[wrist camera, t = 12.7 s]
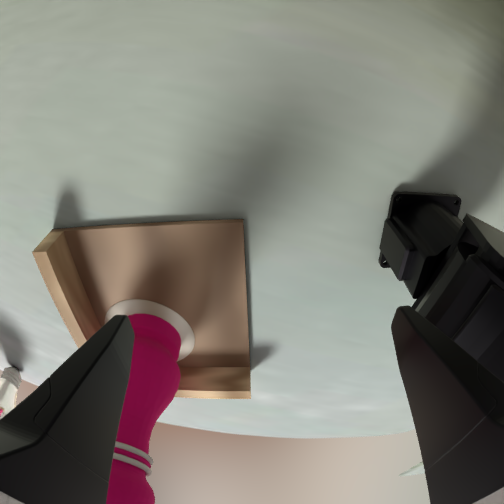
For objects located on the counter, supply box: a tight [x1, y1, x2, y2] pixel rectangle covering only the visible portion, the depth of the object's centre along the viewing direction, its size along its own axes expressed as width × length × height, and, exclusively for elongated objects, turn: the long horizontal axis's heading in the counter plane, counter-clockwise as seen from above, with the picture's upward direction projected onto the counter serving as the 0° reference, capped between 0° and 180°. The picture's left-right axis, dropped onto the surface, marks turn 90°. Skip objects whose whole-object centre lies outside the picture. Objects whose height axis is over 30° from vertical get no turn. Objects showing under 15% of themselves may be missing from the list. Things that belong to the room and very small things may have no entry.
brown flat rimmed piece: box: [32, 219, 251, 399], centre depth 26 cm, size 16×18×4 cm
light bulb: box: [0, 367, 21, 419], centre depth 30 cm, size 7×7×12 cm
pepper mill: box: [106, 314, 181, 504], centre depth 20 cm, size 7×7×20 cm
